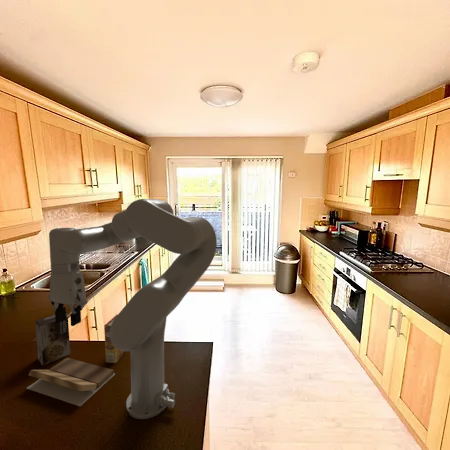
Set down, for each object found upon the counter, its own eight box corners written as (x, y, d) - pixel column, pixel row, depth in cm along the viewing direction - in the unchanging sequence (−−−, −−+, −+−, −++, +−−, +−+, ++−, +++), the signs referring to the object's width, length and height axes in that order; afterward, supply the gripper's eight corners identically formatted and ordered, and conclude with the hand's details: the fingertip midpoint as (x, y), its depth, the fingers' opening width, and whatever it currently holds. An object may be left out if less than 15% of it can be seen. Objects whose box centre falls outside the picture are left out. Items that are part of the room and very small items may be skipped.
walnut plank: (113, 374, 83) (113, 369, 82) (98, 387, 76) (98, 383, 76) (67, 361, 89) (67, 357, 89) (49, 373, 83) (49, 369, 82)
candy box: (116, 365, 88) (115, 325, 87) (105, 364, 89) (103, 325, 87) (127, 350, 97) (126, 314, 96) (117, 350, 98) (116, 314, 96)
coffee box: (65, 349, 97) (63, 311, 96) (70, 356, 93) (68, 316, 92) (37, 361, 90) (34, 319, 89) (42, 368, 86) (39, 325, 85)
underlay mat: (115, 376, 83) (115, 373, 83) (80, 409, 70) (80, 406, 69) (67, 363, 89) (67, 360, 89) (26, 391, 76) (26, 388, 76)
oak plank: (95, 389, 75) (97, 384, 76) (79, 391, 70) (82, 385, 70) (45, 374, 81) (48, 369, 82) (28, 375, 76) (30, 369, 77)
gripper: (97, 266, 76) (99, 321, 78) (56, 262, 81) (59, 313, 83) (76, 273, 69) (79, 333, 71) (33, 267, 74) (36, 323, 76)
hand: (68, 321), depth 77 cm, fingers open, 5 cm apart
